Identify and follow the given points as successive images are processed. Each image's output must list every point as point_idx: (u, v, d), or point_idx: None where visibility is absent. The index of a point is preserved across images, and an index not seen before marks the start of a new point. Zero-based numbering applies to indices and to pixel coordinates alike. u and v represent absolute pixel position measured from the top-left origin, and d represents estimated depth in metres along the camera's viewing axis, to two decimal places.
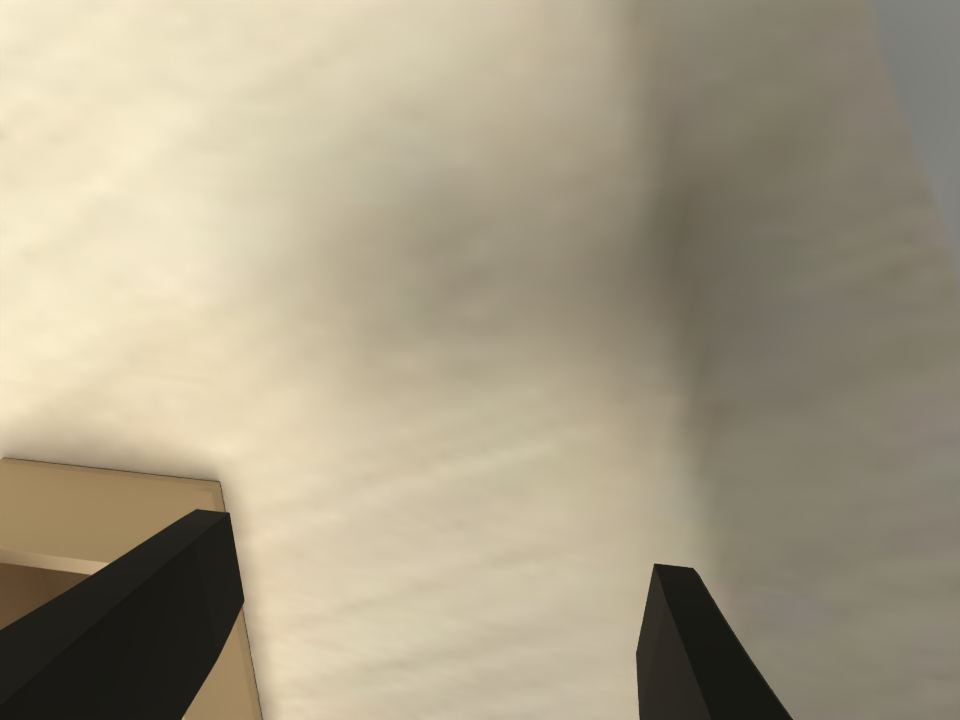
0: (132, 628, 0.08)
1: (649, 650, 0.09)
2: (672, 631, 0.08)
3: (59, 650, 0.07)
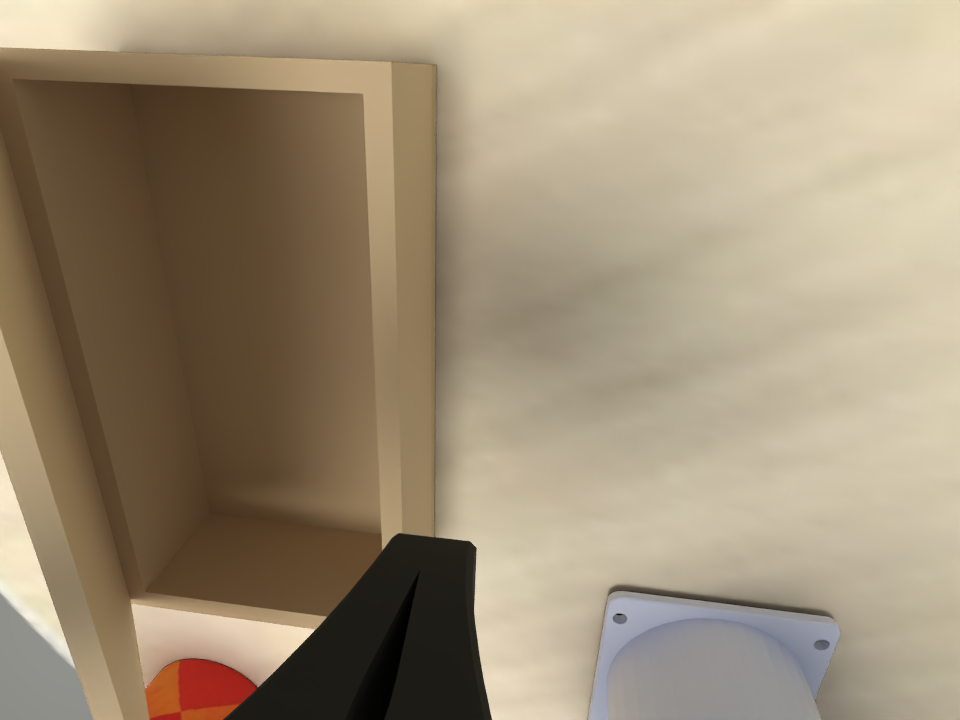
0: (386, 664, 0.08)
1: None
2: None
3: (350, 693, 0.07)
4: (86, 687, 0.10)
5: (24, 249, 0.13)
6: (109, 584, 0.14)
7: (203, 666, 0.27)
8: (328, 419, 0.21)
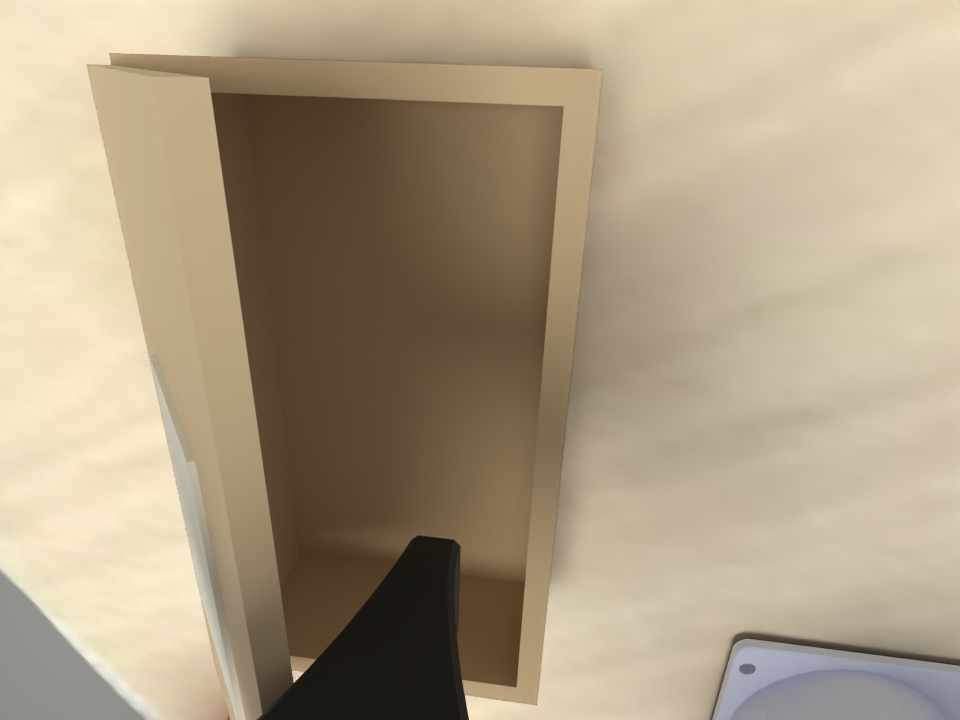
0: None
1: None
2: None
3: (378, 698, 0.07)
4: None
5: None
6: None
7: None
8: (441, 456, 0.19)
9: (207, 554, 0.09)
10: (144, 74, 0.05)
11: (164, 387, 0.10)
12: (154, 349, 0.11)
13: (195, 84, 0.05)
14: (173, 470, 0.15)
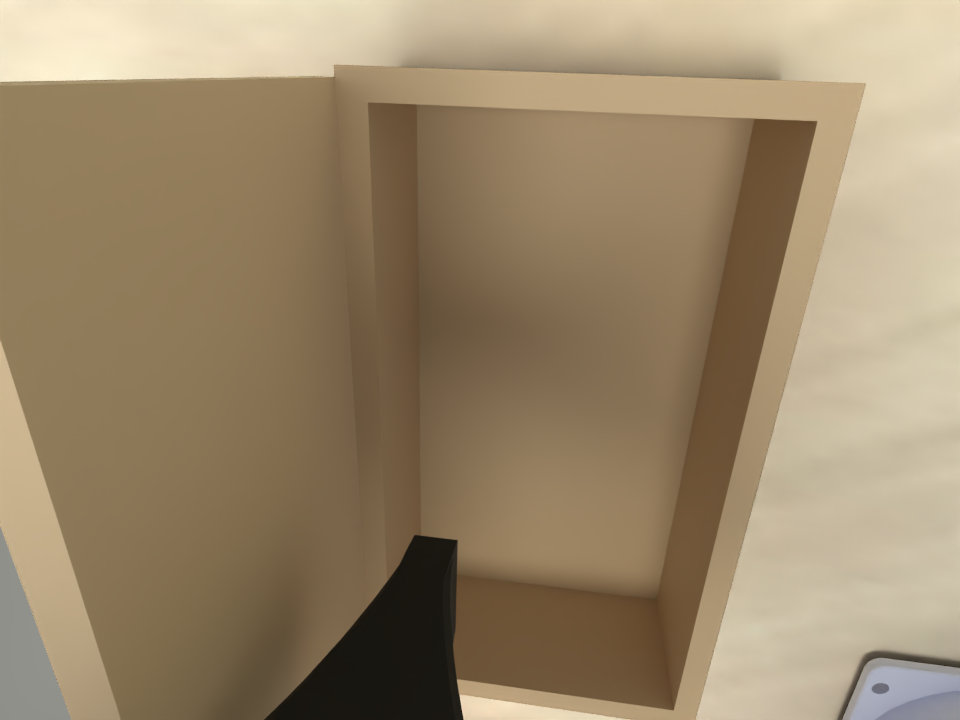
0: None
1: None
2: None
3: (384, 698, 0.07)
4: None
5: (313, 313, 0.10)
6: None
7: None
8: (581, 472, 0.19)
9: None
10: None
11: None
12: None
13: None
14: None
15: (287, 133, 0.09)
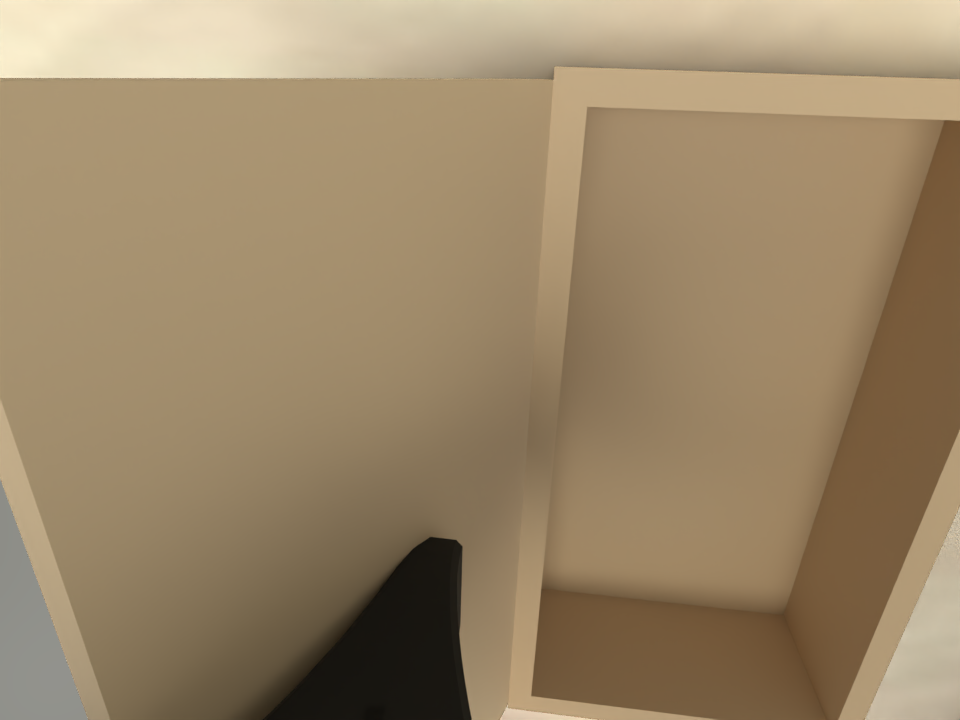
0: None
1: None
2: None
3: (383, 698, 0.07)
4: None
5: (474, 327, 0.10)
6: None
7: None
8: (718, 486, 0.18)
9: None
10: (13, 78, 0.04)
11: None
12: None
13: None
14: None
15: (460, 138, 0.08)
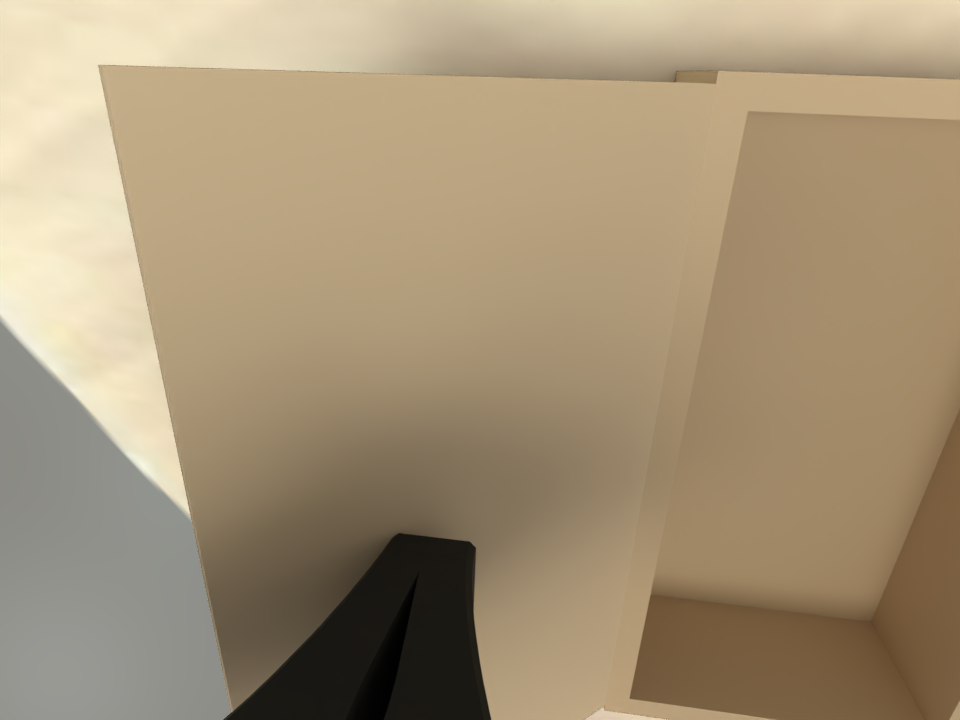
0: (387, 664, 0.08)
1: None
2: None
3: (350, 693, 0.07)
4: None
5: (577, 308, 0.11)
6: None
7: None
8: (813, 491, 0.18)
9: None
10: (182, 67, 0.06)
11: None
12: None
13: (106, 71, 0.06)
14: None
15: (569, 131, 0.09)
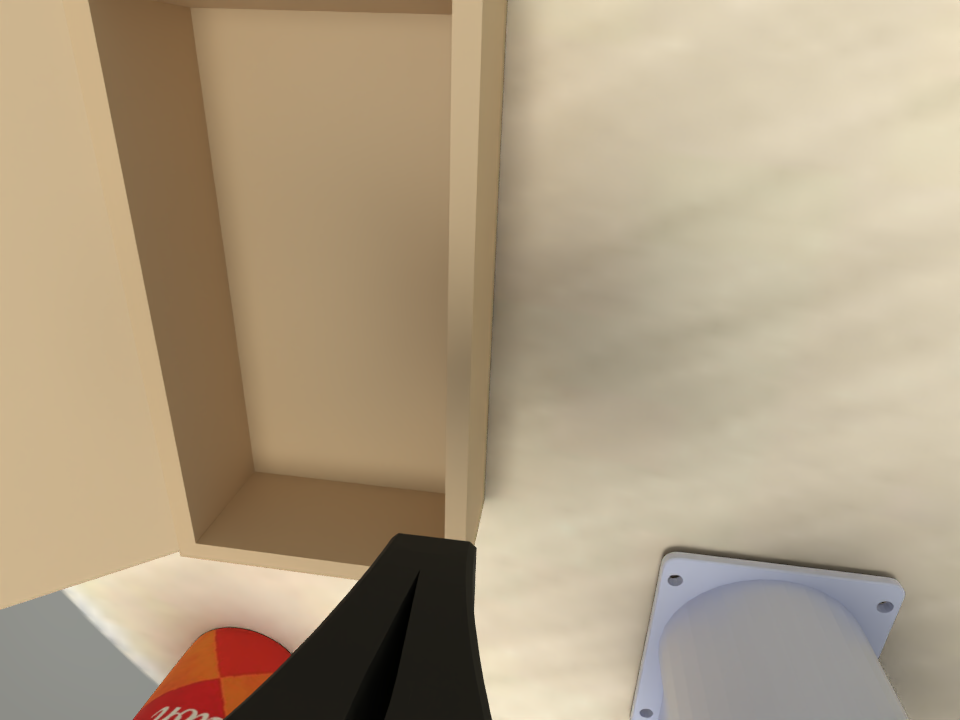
0: (386, 664, 0.08)
1: None
2: None
3: (350, 693, 0.07)
4: None
5: None
6: None
7: (240, 634, 0.27)
8: (381, 369, 0.20)
9: None
10: None
11: None
12: None
13: None
14: None
15: None
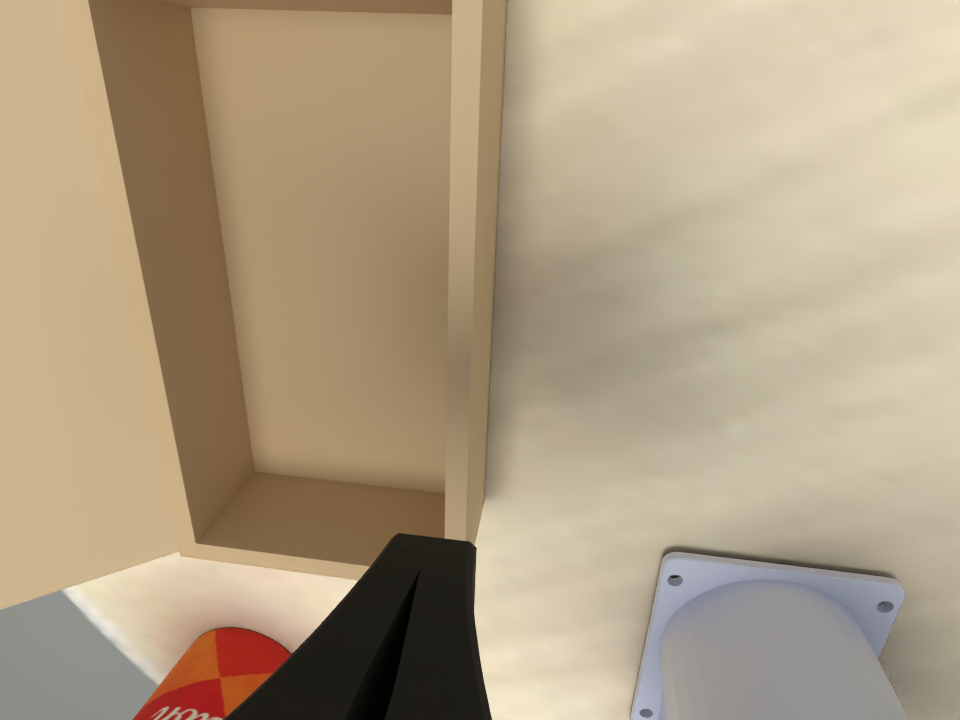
0: (386, 664, 0.08)
1: None
2: None
3: (350, 693, 0.07)
4: None
5: None
6: None
7: (240, 634, 0.27)
8: (381, 369, 0.20)
9: None
10: None
11: None
12: None
13: None
14: None
15: None
